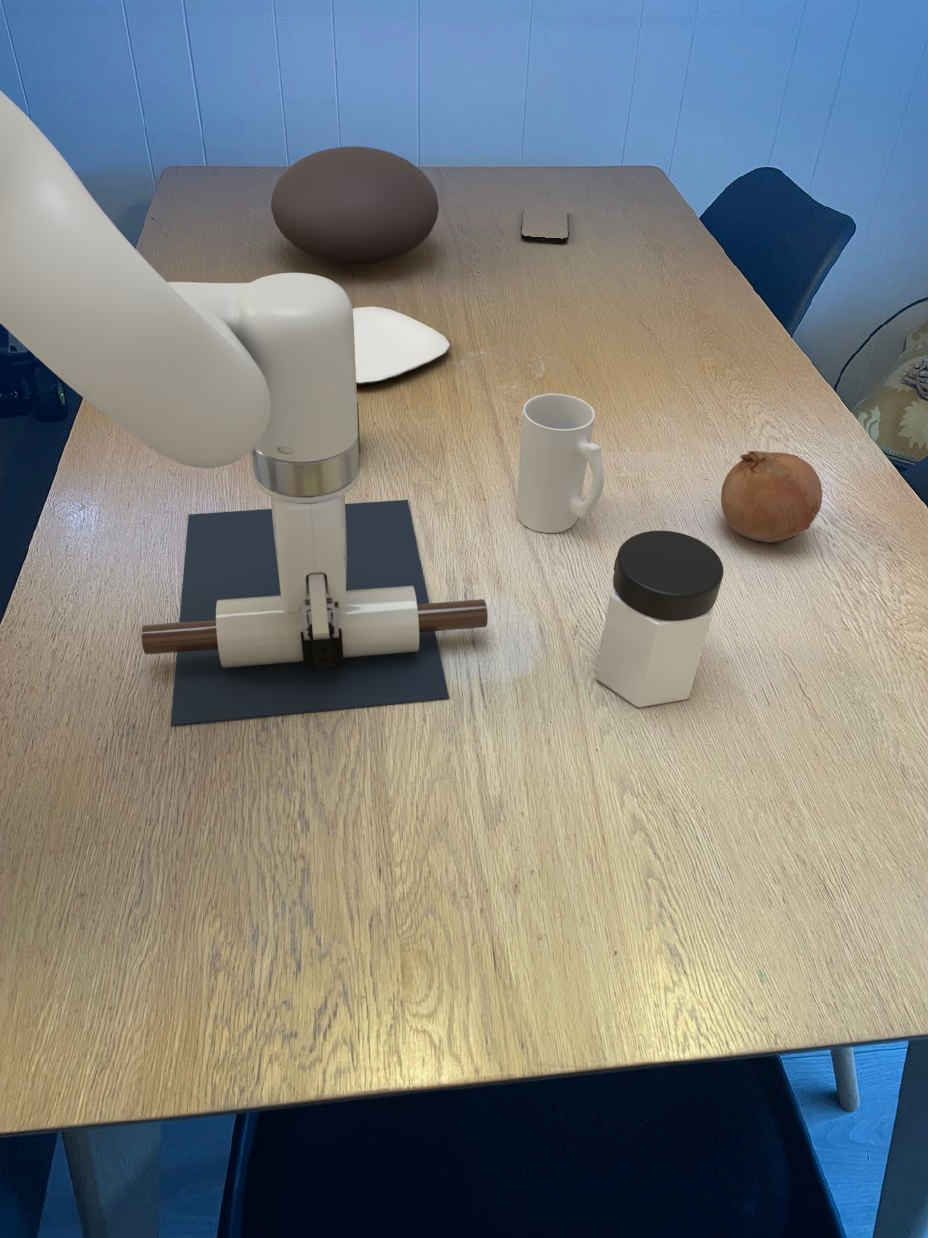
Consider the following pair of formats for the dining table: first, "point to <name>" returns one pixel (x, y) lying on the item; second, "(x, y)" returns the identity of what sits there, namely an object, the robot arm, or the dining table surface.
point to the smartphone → (544, 239)
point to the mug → (557, 463)
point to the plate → (392, 344)
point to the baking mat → (247, 567)
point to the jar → (658, 616)
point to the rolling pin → (275, 637)
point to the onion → (771, 496)
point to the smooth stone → (354, 205)
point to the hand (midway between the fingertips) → (322, 639)
